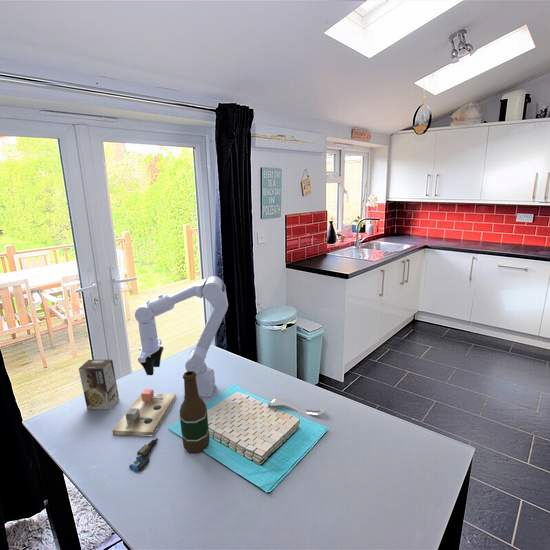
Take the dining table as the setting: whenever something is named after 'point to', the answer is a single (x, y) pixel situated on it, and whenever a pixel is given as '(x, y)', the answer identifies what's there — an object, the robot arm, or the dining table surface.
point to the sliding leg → (149, 395)
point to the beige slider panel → (144, 416)
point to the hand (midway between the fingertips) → (153, 370)
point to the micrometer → (143, 456)
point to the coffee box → (99, 384)
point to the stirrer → (279, 401)
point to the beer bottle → (193, 417)
